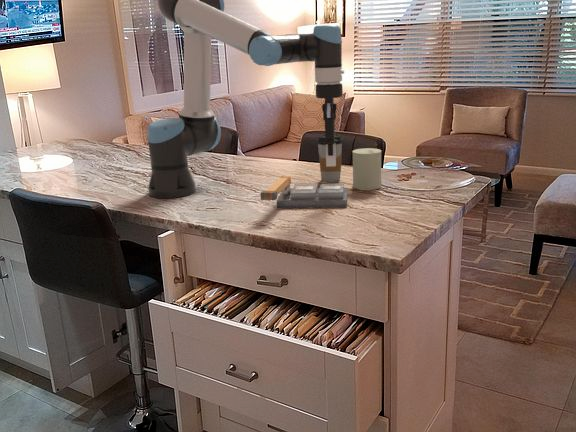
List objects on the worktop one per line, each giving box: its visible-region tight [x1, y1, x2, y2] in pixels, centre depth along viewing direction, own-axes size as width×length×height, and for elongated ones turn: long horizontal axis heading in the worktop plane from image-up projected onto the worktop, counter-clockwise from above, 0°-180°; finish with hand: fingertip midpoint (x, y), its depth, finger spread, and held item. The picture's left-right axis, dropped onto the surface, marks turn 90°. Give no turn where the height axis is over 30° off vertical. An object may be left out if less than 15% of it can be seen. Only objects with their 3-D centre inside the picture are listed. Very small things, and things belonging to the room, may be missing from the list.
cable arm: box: [260, 175, 292, 201], centre depth 167 cm, size 20×4×2 cm, turn 165°
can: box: [352, 147, 383, 191], centre depth 187 cm, size 9×9×12 cm
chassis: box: [276, 183, 349, 209], centre depth 175 cm, size 20×14×5 cm
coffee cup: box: [317, 133, 343, 183], centre depth 197 cm, size 8×8×15 cm
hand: (331, 165), depth 172 cm, fingers closed
